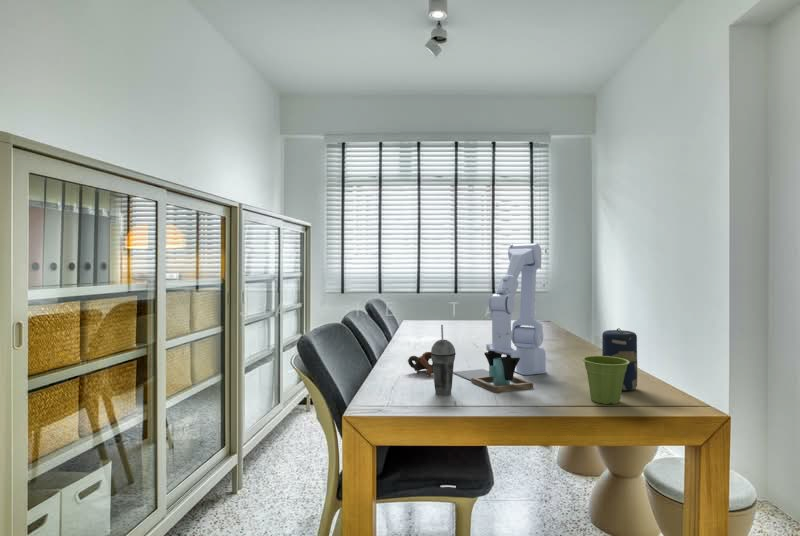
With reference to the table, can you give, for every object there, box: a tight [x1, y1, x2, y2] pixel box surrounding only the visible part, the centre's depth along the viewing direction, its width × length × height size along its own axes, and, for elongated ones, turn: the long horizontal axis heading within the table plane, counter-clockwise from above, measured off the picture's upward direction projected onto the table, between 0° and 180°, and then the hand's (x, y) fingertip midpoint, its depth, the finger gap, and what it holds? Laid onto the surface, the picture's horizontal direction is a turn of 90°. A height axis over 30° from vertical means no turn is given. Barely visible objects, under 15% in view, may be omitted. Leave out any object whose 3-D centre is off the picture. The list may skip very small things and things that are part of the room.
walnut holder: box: [471, 375, 534, 393], centre depth 154 cm, size 13×13×2 cm
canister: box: [601, 327, 638, 391], centre depth 150 cm, size 10×10×18 cm
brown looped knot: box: [407, 351, 433, 377], centre depth 171 cm, size 12×10×8 cm
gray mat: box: [453, 368, 489, 382], centre depth 168 cm, size 12×12×1 cm
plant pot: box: [581, 355, 630, 405], centre depth 136 cm, size 12×12×11 cm
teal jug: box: [488, 358, 511, 386], centre depth 154 cm, size 7×5×8 cm
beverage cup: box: [430, 324, 457, 397], centre depth 145 cm, size 7×7×20 cm
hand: (501, 377), depth 154 cm, fingers open, 7 cm apart
